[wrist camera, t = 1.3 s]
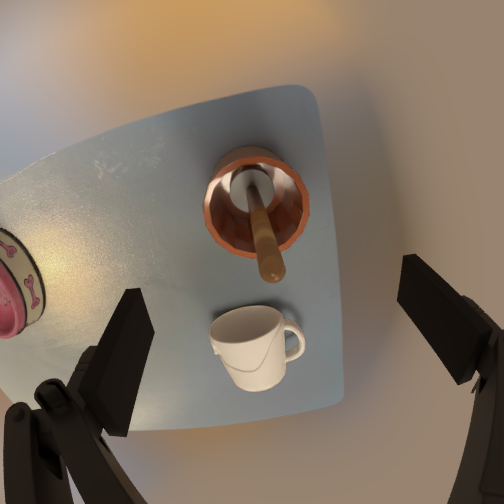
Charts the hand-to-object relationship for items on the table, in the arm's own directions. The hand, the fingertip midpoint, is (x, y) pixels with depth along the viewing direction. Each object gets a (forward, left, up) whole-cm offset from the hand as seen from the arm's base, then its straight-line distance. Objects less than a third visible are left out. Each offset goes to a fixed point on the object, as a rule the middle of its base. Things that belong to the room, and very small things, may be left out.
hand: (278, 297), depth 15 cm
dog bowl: (+8, -42, -24) cm, 49 cm away
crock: (0, 0, -23) cm, 23 cm away
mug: (+21, -1, -24) cm, 31 cm away
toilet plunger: (0, 0, -23) cm, 23 cm away
